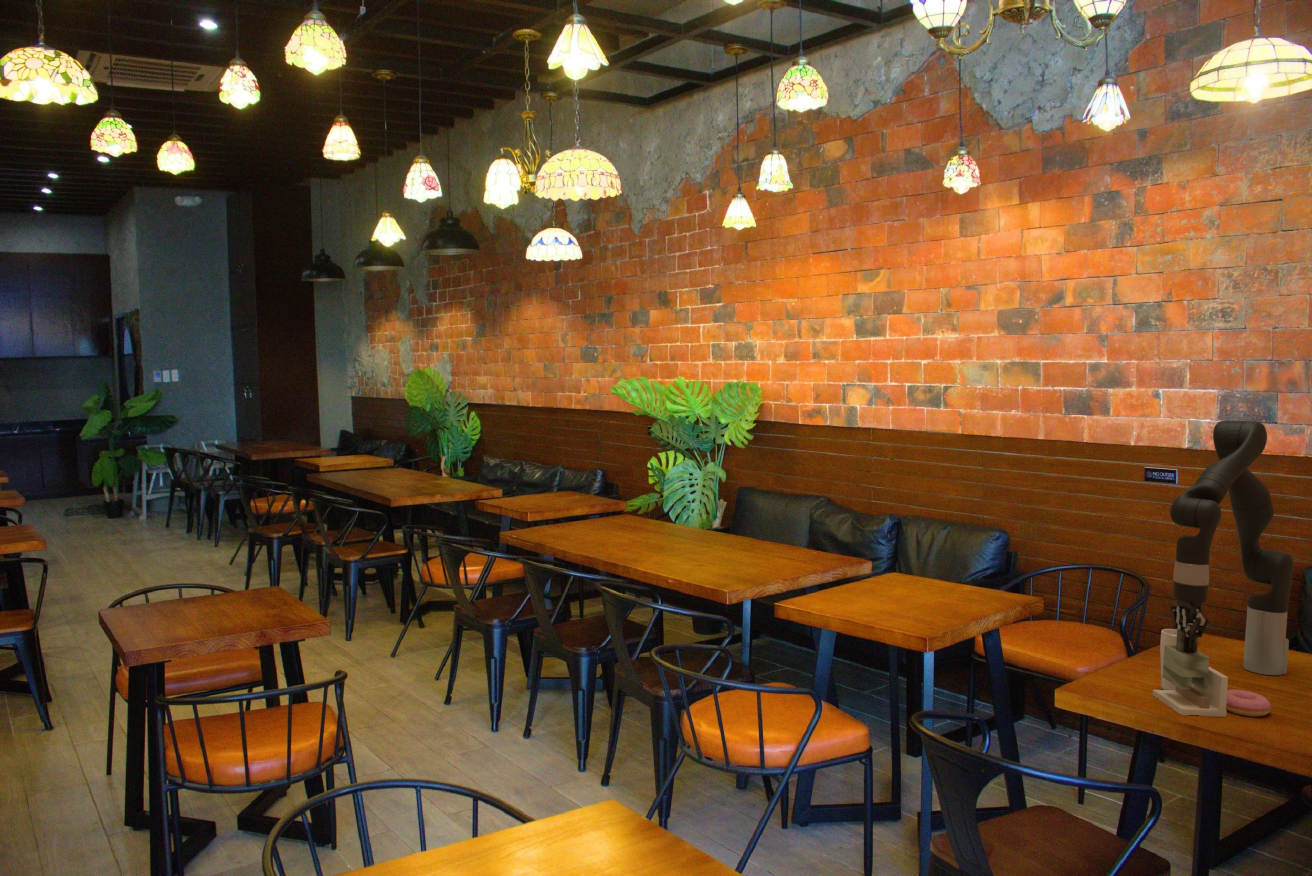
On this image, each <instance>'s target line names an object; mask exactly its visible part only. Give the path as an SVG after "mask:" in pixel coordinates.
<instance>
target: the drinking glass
mask: <svg viewBox="0 0 1312 876" xmlns="http://www.w3.org/2000/svg"><path fill="white" fill-rule="evenodd" d="M1176 642H1177V629H1174V628H1164V629H1161V633H1160V643H1159V644H1160V645H1159V647H1160V649H1159V650H1160V651H1159V653H1160V687H1161V690H1176V685H1174V684H1173V683H1171V682H1169V681H1168V680H1166V679H1165V678H1163V663H1164V647H1165V645H1167V646H1176Z"/></svg>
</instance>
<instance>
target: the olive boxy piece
mask: <svg viewBox="0 0 1312 876" xmlns="http://www.w3.org/2000/svg"><path fill="white" fill-rule="evenodd" d="M1176 630H1177V629H1176ZM1184 642H1185V630H1177V642H1176V646H1167V645H1165V647H1164V663H1163V678H1165V679H1166V680H1168V681H1169V682H1171V683H1173V684H1174V685H1176V686H1177V687H1179V688H1180V689H1188V690H1191V682H1192V683H1193V684H1195V685H1196V686H1198V687H1200V688H1201V689H1203V690H1207V683H1208V668H1209V667H1210V656H1208V655H1206V654H1204V653H1202V652H1201V651H1198V646H1199V645H1198V642H1199V637H1198V638H1196V639H1195V652H1194V653H1186V652H1184Z"/></svg>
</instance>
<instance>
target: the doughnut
mask: <svg viewBox="0 0 1312 876" xmlns="http://www.w3.org/2000/svg"><path fill="white" fill-rule="evenodd" d="M1271 707H1272V705H1271V703H1270V701H1269V699H1268V698H1267V697H1265V696H1264V695H1263V694H1262V695H1261V694H1259V693H1256V692H1253V691H1249V690H1246V689H1245V690H1244V689H1237V688H1233V689H1232V688H1230V689H1227V701H1226V710H1227V712H1229V713H1232V714H1235V715H1240V716H1244V717H1264V716H1266V715H1268V714H1269V712H1270V710H1271Z"/></svg>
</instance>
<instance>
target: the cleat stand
mask: <svg viewBox="0 0 1312 876" xmlns="http://www.w3.org/2000/svg"><path fill="white" fill-rule="evenodd" d="M1228 683H1229V677H1228V676H1226V675H1225V674H1223V673H1221V672H1219V671H1218V670H1216V669H1214V668H1213V667H1210V666H1209V668H1208V683H1207V690H1203V689H1201V688H1200V687H1198V686H1196V685H1195V684H1193V683H1192V682H1191V690H1188V689H1180V688H1179V687H1177V686H1176V690H1164V689H1153V690H1152V696H1153V697H1154V696H1155V697H1154V698H1156V699H1157V698H1158V699H1157V700H1158V701H1160V702H1161V703H1163V704H1164V705H1165V706H1167V707H1168V708H1170V707H1171V708H1170V709H1172V710H1173V711H1174V712H1176V713H1177V714H1179V715H1180V714H1181V715H1180V716H1188V715H1199V716H1198V717H1221V718H1224V717H1225V718H1226V717H1227V714H1228V713H1227V712H1228V711H1227V710H1226V701H1227V690H1228Z"/></svg>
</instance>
